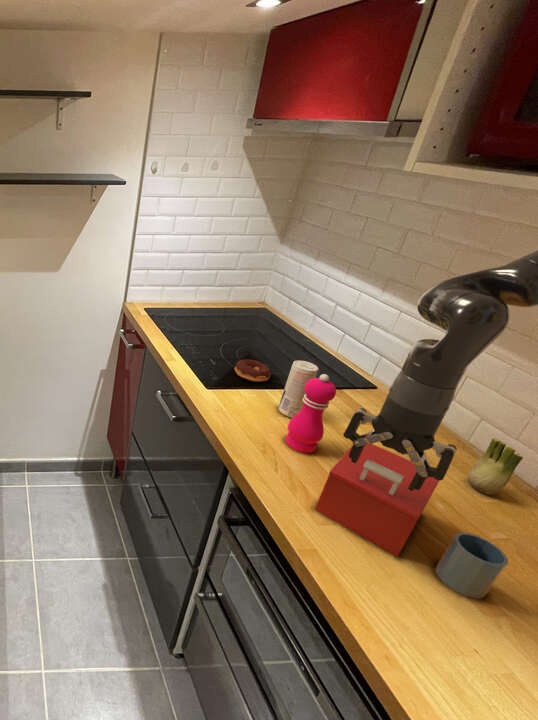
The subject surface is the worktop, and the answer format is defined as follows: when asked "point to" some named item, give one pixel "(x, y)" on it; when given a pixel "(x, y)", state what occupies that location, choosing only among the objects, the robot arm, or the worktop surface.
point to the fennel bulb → (494, 468)
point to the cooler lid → (385, 479)
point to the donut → (252, 370)
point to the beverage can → (296, 387)
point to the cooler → (365, 515)
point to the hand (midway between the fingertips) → (381, 474)
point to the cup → (471, 565)
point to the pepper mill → (310, 415)
